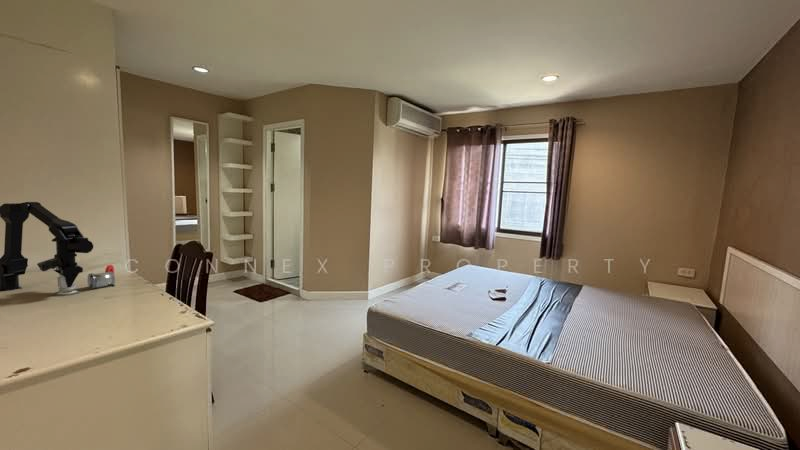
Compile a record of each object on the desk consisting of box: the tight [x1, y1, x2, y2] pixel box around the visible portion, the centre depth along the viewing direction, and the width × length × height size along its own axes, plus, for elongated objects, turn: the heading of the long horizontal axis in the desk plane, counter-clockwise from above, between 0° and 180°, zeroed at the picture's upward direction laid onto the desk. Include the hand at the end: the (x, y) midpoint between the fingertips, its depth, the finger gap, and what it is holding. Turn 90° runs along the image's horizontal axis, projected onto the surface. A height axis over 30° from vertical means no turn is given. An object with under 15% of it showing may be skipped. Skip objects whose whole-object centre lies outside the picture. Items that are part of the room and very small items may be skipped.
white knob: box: [57, 274, 77, 291], centre depth 142 cm, size 6×5×7 cm
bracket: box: [104, 264, 115, 275], centre depth 162 cm, size 12×4×8 cm, turn 22°
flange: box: [52, 288, 83, 297], centre depth 143 cm, size 9×9×1 cm
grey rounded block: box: [87, 272, 116, 290], centre depth 152 cm, size 8×8×7 cm
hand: (67, 286), depth 143 cm, fingers closed on white knob, 5 cm apart
